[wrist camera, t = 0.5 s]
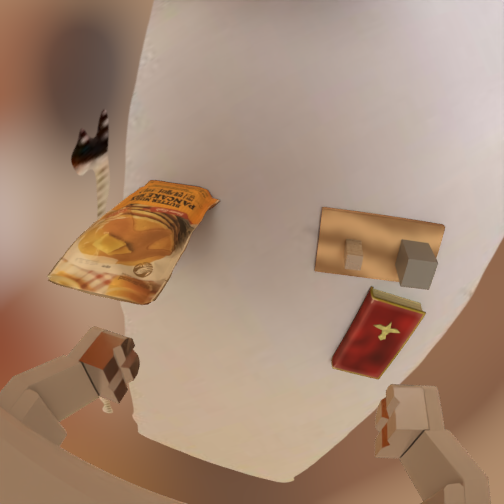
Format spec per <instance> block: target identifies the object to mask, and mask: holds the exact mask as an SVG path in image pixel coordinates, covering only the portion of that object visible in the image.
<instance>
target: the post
mask: <svg viewBox="0 0 504 504" xmlns="http://www.w3.org/2000/svg"><path fill="white" fill-rule="evenodd" d="M362 261H363V250H362V243H361V240H353V239H346V244H345V250H344V262H345V269H351V270H359V271H360V270H361V266H362Z"/></svg>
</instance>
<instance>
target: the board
mask: <svg viewBox="0 0 504 504" xmlns="http://www.w3.org/2000/svg"><path fill="white" fill-rule="evenodd" d="M444 230H445V227H444V225H443V224H437V223H431V222H425V221H419V220H412V219H406V218H400V217H393V216H386V215H379V214H372V213H365V212H358V211H350V210H343V209H335V208H327V207H322V216H321V225H320V233H319V241H318V249H317V257H316V265H315V271H317V272H325V273H333V274H341V275H349V276H356V277H364V278H372V279H380V280H388V281H396V282H399V278H398V274H397V270H396V267H395V263H396V260H397V256H398V252H399V248H400V244H401V240H402V239H404V240H411V241H417V242H424V243H429V245H430V247H431V249H432V251H433V253H434V255H435V257H437V254H438V251H439V247H440V244H441V241H442V237H443V234H444ZM346 239H353V240H361V243H362V250H363V261H362V266H361V270H360V271H359V270H351V269H345V262H344V250H345V244H346Z"/></svg>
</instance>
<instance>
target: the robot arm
mask: <svg viewBox="0 0 504 504" xmlns="http://www.w3.org/2000/svg"><path fill="white" fill-rule="evenodd" d="M134 347H135V344H134V342H133V339H132V338H129V337H126V336H123V335H120V334H117V333H114V332H111V331H108V330H105V329H102V328H99V327H96V326H94V327H92V328H90V329H89V330H88V332H87V333H86V334H85V335H84V336H83V338H82V339H81V340H80V341H79V342H78V343H77V345H76V346H75V347H74V348H73V349H72V351H71V352H70V353H69V354H68V355H67V356H65V355H63V356H61V357H58V358H56V359H53V360H51V361H49V362H46V363H44V364H42V365H39V366H37V367H35V368H32V369H30V370H28V371H26V372H23V373H21V374H18V375H16V376H13V377H12V378H11V380H10V381H9V382H8V383H7V384H6V386H5V387H4V388H3V389H2V391H1V392H0V504H186V503H183V502H180V501H177V500H174V499H171V498H168V497H165V496H162V495H160V494H157V493H154V492H151V491H149V490H146V489H144V488H142V487H139V486H137V485H134V484H132V483H129V482H127V481H125V480H122V479H120V478H118V477H116V476H114V475H112V474H109V473H107V472H105V471H103V470H101V469H99V468H97V467H95V466H93V465H91V464H89V463H87V462H86V461H84V460H81V459H80V458H78V457H76V456H74V455H73V454H71V453H69V452H67V451H66V450H64V449H62V448H61V447H60V445H61V443H62V441H63V440H64V438H65V437H66V435H67V433H66V430H65V429H64V428H63V427H62V425H61V424H60V423H59V422H60V421H62V420H63V419H65V418H67V417H69V416H70V415H72V414H73V413H75V412H77V411H78V410H80V409H81V408H83V407H85V406H86V405H88V404H90V403H91V402H93V401H94V400H96V399H97V398H99V396H100V397H102V398H105V399H107V400H110V401H113V402H115V403H118V404H119V403H120V401H121V400H122V398H123V397H124V395H125V394H126V392H127V390H128V388H127V383H129V382H131V381H133V380H134V379H135V377H136V376H137V374H138V370H139V367H140V362H139V357H138V355H137V353H136V352H135V351H134V350H133V348H134ZM375 428H376V429H377V430H378V432H379V434H378V436H377V437H376V439H375V457H378V458H400V461H401V463H402V465H403V467H404V468H405V470H406V472H407V474H408V475H409V477H410V479H411V481H412V482H413V484H414V486H415V488H416V489H417V491H418V493H419V495H420V496H421V498H422V500H423V502H422V503H421V504H491V502H490V491H489V481H488V477H487V476H486V474H485V473H484V472H483V471H482V469H481V468H480V467H479V466H478V465H477V463H476V462H475V461H474V460H473V459H472V457H471V456H470V455H469V454H468V452H467V451H466V450H465V449H464V448H463V446H462V445H461V444H460V443H459V442H458V440H457V439H456V438H455V437H454V436H453V434H452V433H451V432H450V431H449V430H445V429H444V422H443V415H442V410H441V404H440V399H439V393H438V389H437V387H436V386H420V385H397V384H391V385H390V386H388V388H387V390H386V397H385V398H384V399H382V400H381V401H380V403H379V405H378V409H377V412H376V419H375Z"/></svg>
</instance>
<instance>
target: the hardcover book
mask: <svg viewBox="0 0 504 504" xmlns="http://www.w3.org/2000/svg"><path fill="white" fill-rule="evenodd" d="M425 314H426V312H424V311H422V308H421V304H420V303H418V302H415V301H412V300H408V299H405V298H402V297H399V296H395V295H392V294H389V293H386V292H382V291H379V290H376V289H373V287H372V286H371V288H370V290H369V292H368V294H367V296H366V298H365V300H364V302H363V304H362V306H361V308H360V309H359V311H358V313H357V315H356V317H355V319H354V320H353V322H352V324H351V326H350V328H349V329H348V331H347V333H346V335H345V336H344V338H343V340H342V342H341V343H340V345H339V347H338V349H337V350H336V352H335V354H334V355H333V357H332V368H333V369H337V370H341V371H345V372H349V373H353V374H358V375H362V376H366V377H370V378H375V379H379V378H380V377H381V376H382V374H383V373H384V372H385V370H386V369H387V368H388V367H389V365H390V364H391V363H392V361H393V360H394V359H395V357H396V356H397V355H398V353H399V352H400V350H401V349H402V348H403V346H404V345H405V344H406V342H407V341H408V339H409V338H410V336H411V335H412V334H413V332H414V331H415V329H416V328H417V326H418V325H419V323H420V322H421V320H422V319H423V317H424V316H425Z"/></svg>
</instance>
